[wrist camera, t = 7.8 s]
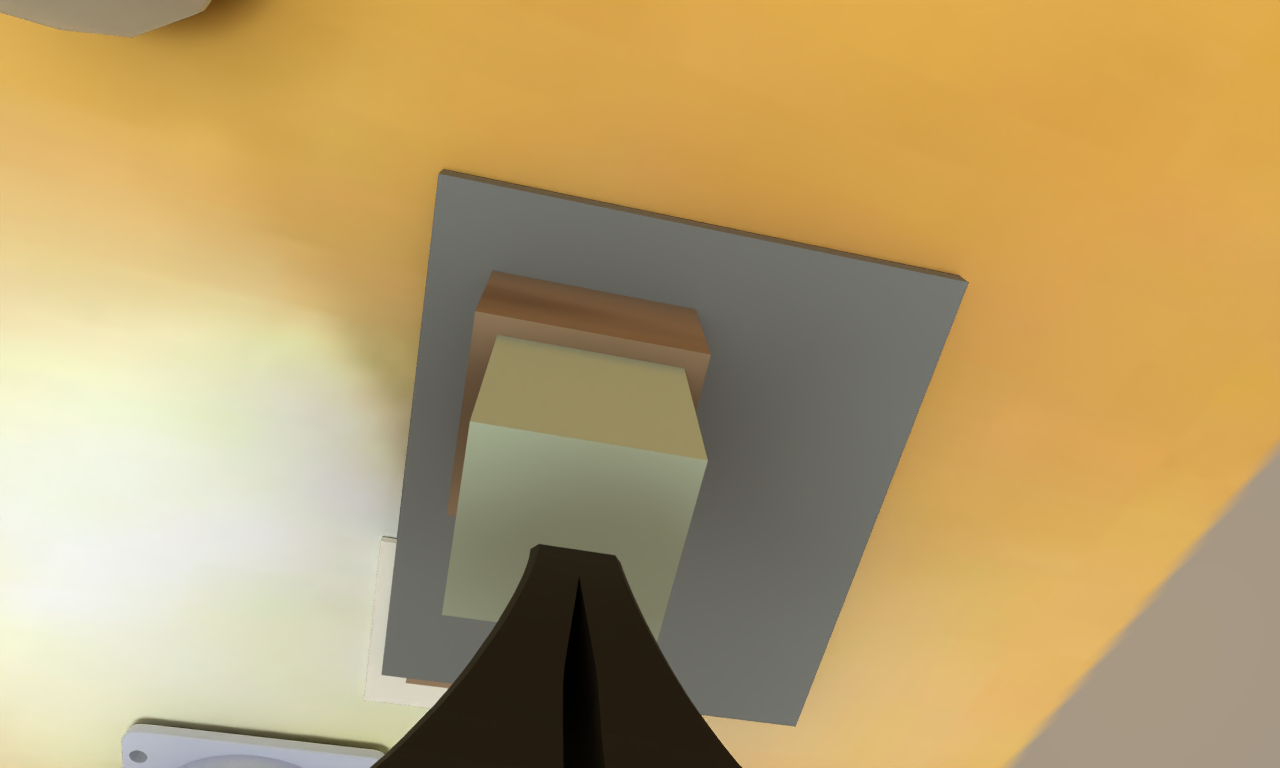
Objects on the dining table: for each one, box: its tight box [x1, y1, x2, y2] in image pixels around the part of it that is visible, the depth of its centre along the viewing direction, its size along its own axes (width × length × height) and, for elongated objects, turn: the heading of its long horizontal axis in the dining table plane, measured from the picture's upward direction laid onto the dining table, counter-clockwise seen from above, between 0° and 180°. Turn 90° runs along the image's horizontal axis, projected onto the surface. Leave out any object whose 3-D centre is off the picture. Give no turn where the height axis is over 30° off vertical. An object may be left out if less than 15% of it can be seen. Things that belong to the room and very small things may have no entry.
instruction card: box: [364, 537, 452, 708], centre depth 24 cm, size 6×4×1 cm, turn 168°
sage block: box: [442, 335, 708, 642], centre depth 16 cm, size 4×4×4 cm
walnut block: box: [447, 270, 711, 516], centre depth 19 cm, size 5×5×3 cm
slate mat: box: [381, 169, 969, 726], centre depth 22 cm, size 15×13×1 cm
